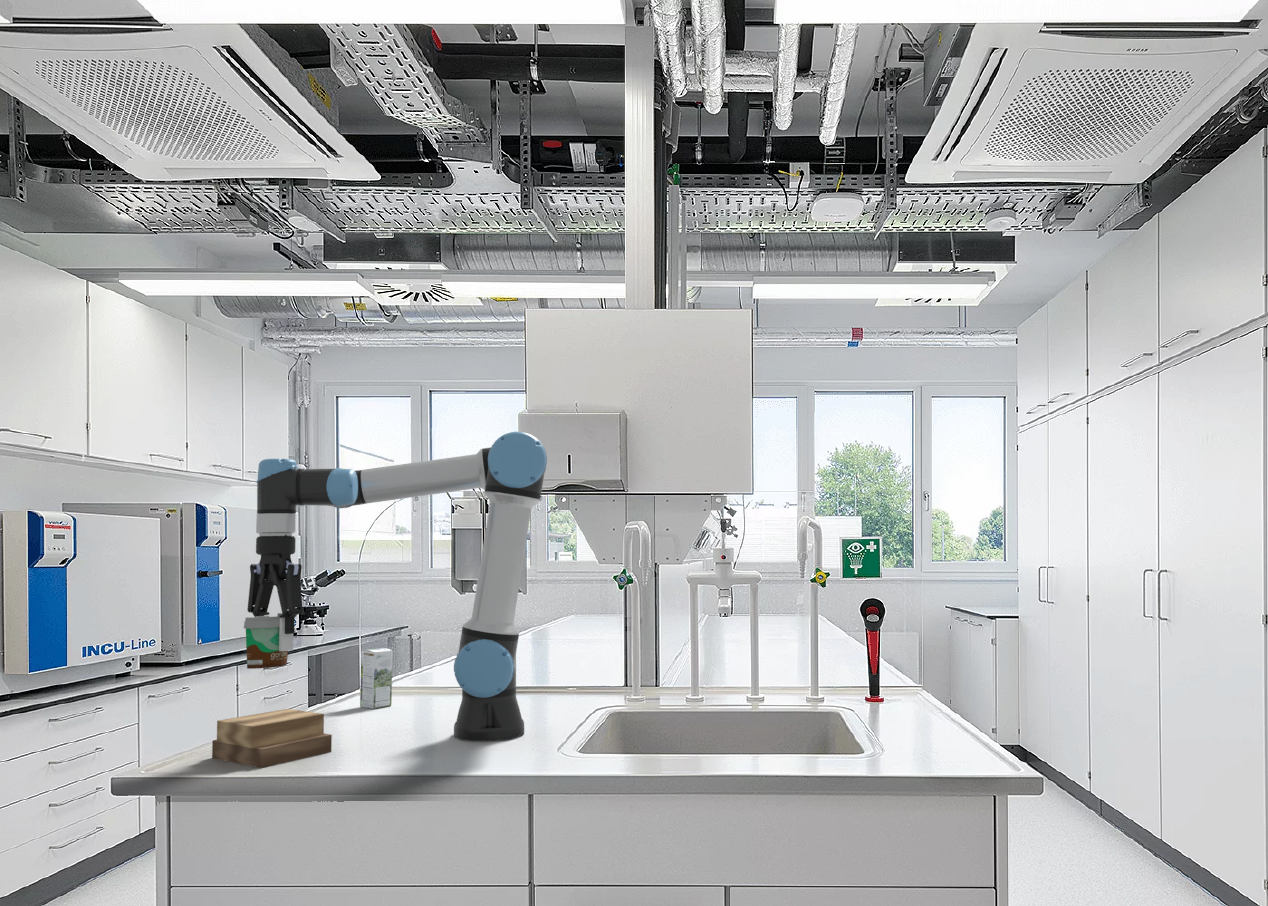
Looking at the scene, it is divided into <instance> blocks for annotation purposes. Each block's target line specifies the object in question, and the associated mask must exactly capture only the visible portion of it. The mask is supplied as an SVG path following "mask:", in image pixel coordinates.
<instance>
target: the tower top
mask: <svg viewBox="0 0 1268 906" xmlns="http://www.w3.org/2000/svg"><path fill="white" fill-rule="evenodd" d="M324 719H325V714H324V713H321V712H320V713H319V712H312V711H306V710H299V709H292V708H285V709H280V710H272V711H268V712H267V711H266V712H260V713H256V714H248V715H243V716H237V717H231V718H226V719H220V720H217V721H216V723H217V724H216V740H217V742H222V743H227V744H232V745H238V746H243V747H248V748H256V747H261V746H266V745H272V744H277V743H282V742H287V741H292V740H297V739H302V738H307V737H312V736H317V735H322V734H325V732H324V731H325V729H324V728H325V720H324Z"/></svg>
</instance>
